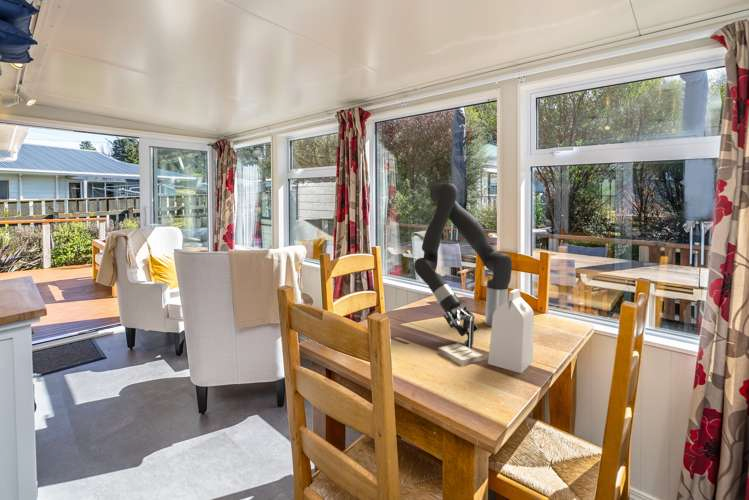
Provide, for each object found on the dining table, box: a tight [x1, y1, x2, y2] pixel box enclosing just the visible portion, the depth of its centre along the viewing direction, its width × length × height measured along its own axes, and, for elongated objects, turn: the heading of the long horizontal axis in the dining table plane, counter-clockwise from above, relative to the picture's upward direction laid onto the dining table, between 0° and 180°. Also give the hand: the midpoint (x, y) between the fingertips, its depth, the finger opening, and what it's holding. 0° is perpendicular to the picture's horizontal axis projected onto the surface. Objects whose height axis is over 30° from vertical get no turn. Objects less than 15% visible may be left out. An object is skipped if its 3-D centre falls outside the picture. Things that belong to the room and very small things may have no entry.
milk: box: [487, 288, 535, 374], centre depth 135 cm, size 12×12×26 cm
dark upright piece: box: [462, 315, 475, 349], centre depth 152 cm, size 7×4×11 cm, turn 161°
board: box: [437, 342, 485, 367], centre depth 142 cm, size 10×13×2 cm
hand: (470, 332), depth 151 cm, fingers open, 8 cm apart
